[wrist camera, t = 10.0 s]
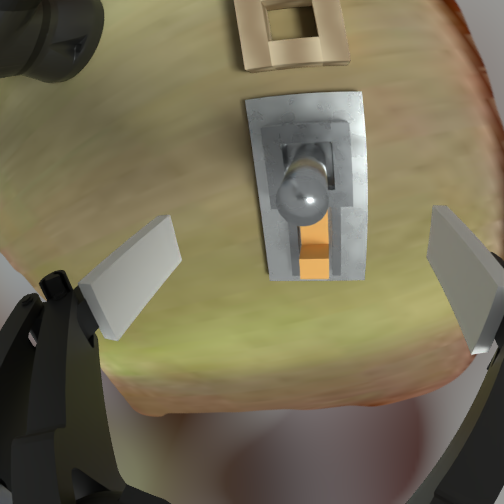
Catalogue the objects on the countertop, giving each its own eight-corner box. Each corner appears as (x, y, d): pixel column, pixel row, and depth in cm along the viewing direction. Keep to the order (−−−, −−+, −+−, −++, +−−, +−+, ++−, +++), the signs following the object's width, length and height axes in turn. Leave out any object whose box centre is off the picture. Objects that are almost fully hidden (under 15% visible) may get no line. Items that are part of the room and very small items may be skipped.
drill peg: (296, 174, 30) (278, 227, 18) (293, 145, 29) (272, 177, 17) (326, 173, 29) (329, 225, 17) (324, 143, 28) (327, 174, 16)
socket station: (271, 275, 38) (264, 299, 34) (247, 100, 28) (234, 99, 24) (363, 274, 35) (367, 299, 31) (360, 92, 25) (367, 89, 21)
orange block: (303, 255, 35) (300, 279, 30) (298, 188, 31) (294, 203, 27) (328, 255, 34) (329, 278, 30) (326, 187, 30) (327, 202, 26)
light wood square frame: (252, 73, 27) (245, 69, 24) (240, -4, 22) (231, -14, 19) (347, 65, 24) (350, 60, 21) (331, -14, 20) (332, -26, 17)
